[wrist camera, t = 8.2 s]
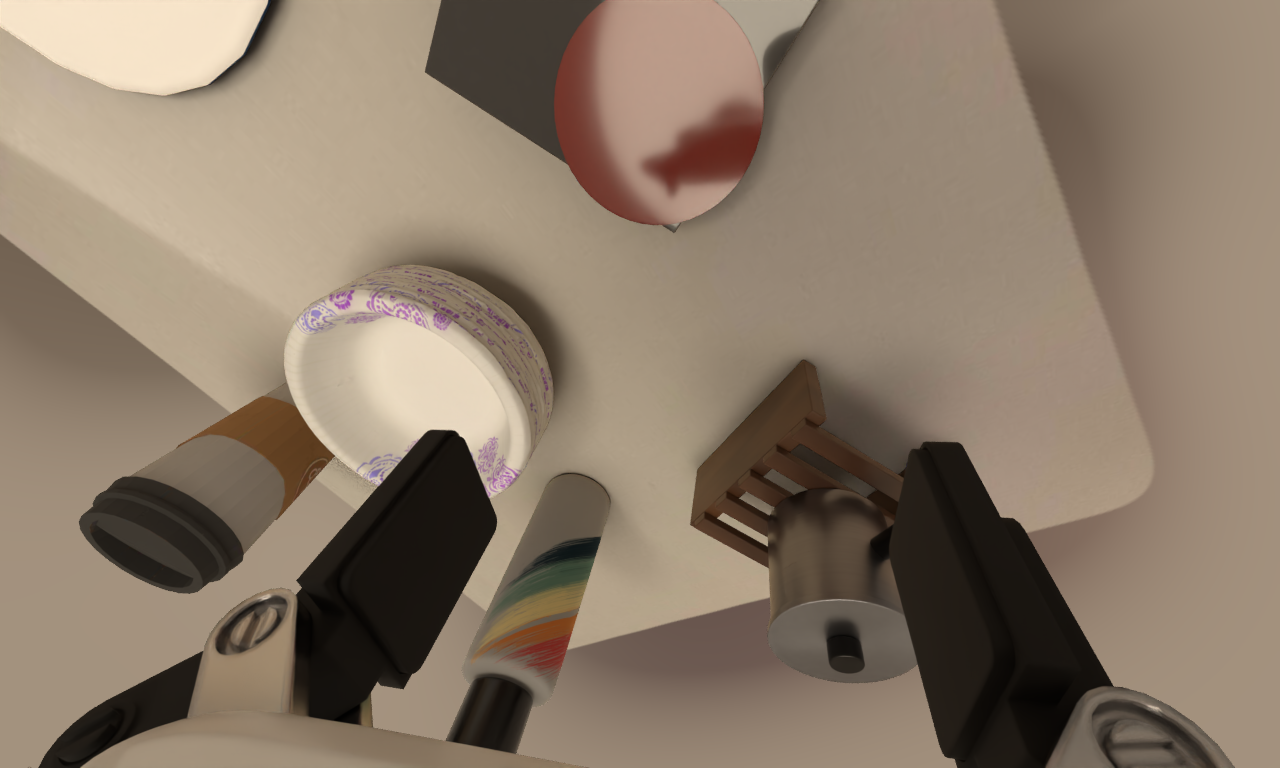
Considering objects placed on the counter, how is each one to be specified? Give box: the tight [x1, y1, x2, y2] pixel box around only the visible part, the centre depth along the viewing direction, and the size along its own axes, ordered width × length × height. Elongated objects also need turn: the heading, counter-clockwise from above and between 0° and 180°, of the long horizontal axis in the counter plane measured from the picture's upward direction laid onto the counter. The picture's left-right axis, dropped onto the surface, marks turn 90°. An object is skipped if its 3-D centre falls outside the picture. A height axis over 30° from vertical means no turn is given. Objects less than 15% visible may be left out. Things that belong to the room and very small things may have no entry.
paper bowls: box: [284, 265, 554, 499], centre depth 32 cm, size 15×15×8 cm
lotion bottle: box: [446, 474, 610, 754], centre depth 33 cm, size 6×6×20 cm
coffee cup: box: [79, 383, 335, 594], centre depth 35 cm, size 8×8×15 cm
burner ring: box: [554, 0, 764, 225], centre depth 22 cm, size 10×10×1 cm
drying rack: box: [690, 360, 906, 568], centre depth 32 cm, size 12×12×6 cm
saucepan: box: [767, 488, 918, 683], centre depth 25 cm, size 7×13×8 cm, turn 150°
